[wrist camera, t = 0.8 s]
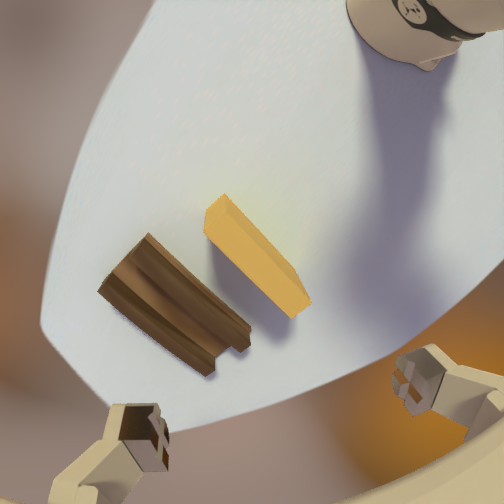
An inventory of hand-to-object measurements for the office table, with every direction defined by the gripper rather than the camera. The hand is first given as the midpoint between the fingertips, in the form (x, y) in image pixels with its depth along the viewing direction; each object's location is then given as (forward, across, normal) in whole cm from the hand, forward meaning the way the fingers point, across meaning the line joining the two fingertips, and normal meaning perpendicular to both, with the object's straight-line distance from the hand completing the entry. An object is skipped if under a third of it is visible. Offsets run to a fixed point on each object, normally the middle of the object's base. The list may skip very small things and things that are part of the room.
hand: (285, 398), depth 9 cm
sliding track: (+32, +8, +12) cm, 35 cm away
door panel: (+31, -3, +4) cm, 31 cm away
